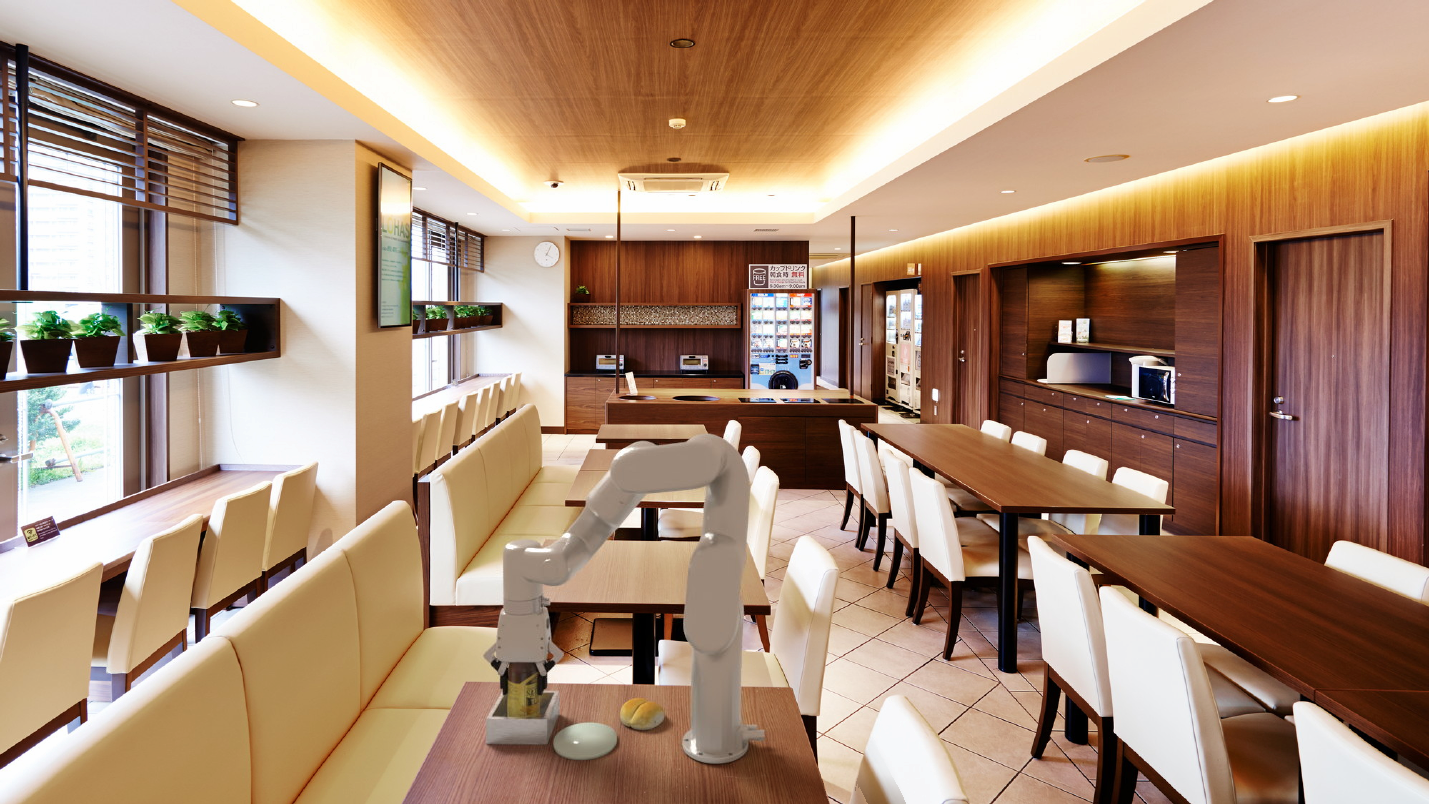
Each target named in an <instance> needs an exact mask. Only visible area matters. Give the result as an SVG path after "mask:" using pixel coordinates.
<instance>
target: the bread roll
mask: <svg viewBox="0 0 1429 804" xmlns="http://www.w3.org/2000/svg"><path fill="white" fill-rule="evenodd" d="M619 713H620V715H619V718H620V722H621V723H622V724H623V725H624V726H626V727H630V726H631V728H632V729H634V730H639V731H645V730H647V731H648V730H652V729H654V728H655V727H658V726H659V725H660V724H662V723H663V721H664V720H665V709H664V708H663V706H661V704H659V703H657V702H656V701H649V700H647V699H646V698H643V697H635V698H632V699H629V700H627V701H626V702H625V703H624V704H622V706H621V709H620V712H619Z"/></svg>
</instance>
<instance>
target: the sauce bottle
mask: <svg viewBox="0 0 1429 804" xmlns="http://www.w3.org/2000/svg"><path fill="white" fill-rule="evenodd" d="M538 675H539V669H538V667H537V665H536V663H527V662H514V663H511V662H510V663H509V665H508V716H507V717H541V716H540V695H538Z"/></svg>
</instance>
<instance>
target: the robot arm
mask: <svg viewBox="0 0 1429 804" xmlns="http://www.w3.org/2000/svg"><path fill="white" fill-rule="evenodd" d="M749 475H750V474H749V472H748V468H747V465H746V461H744V458H743V457H742V455H741V454H740V452H739V451H738V450H737V449H736V447H735V446H734V445H732V444H731V442H729V441H727V440H726V439H724V438H722V436H721V437H720V436H718V435H716V434H713V433H701V434H697V435H694V436H692V437H691V438H689V439H688V440H687V441H684V442H677V443H669V444H661V445H660V444H659V445H658V444H655V443H653V442H650V441H647V440H640V441H636V442H633V443H631V444H630V445H628V446H626V447H624V448H622V449H621V450H619V451H618V452H617V453H616V454H615V455H614V456H613V458H612V461H611V463H610V468H609V470H607V472H606V473H605V474H604V475H603V477H602V478H601V479H600V480H599V481H598V482H597V484H596V485H594V487H593V489H591V490H590V491H589V493H588V494H587V496H586V498H585V507H584V508H583V509H582V511H581V513H580V515H579V516H577V518H576V519H575V520H574V522H573V523H572V524H571V525H570V527H568V528H567V530H566V531H565V532H564V533H563V535H562V536H561V537H560V538H558V539H557V540H555V541H554V542H553V543H551V544H550V545H547V546H545V547H543V546H542V545H541V543H540V542H539V541H537V540H533V539H526V538H525V539H516V540H512V541H509V542H508V543H507V544H505V546H504V547H503V551H502V579H503V580H502V588H503V590H502V591H503V592H502V595H503V596H502V597H503V598H502V599H503V602H502V603H503V605H502V607H503V608H501V610H500V613H499V617H498V622H497V629H496V630H497V631H496V641H495V642H494V644H492V645H491V646H490V647H489V648H488V649H487V650H486V651H484V654H483V658H484V660H486V661H487V663H489V664H490V666H491V667H492V668H493V669H494V670H495V671H496V672H497V675H498V676H499V689H500V690H502V691H503V695H507V693H508V667H509V663H510V662H511V663H514V662H527V663H536V665H537V667H538V669H539V675H538V695H541V696H542V694H543V692H544V691H545V690H547V689H548V673H549V672H550V671H551V670H552V669H553V668H554V667H555V666H556V664H558V663H559V662H560V661H561V660H562V659H563V658H564V655H565V654H564V652H563V650H561V649H560V648H559V647H558V646H557V645H556V644H555V643H554V642H553V641H552V632H551V623H550V622H551V621H550V616H549V611H548V608H547V607H546V606H551V598H550V597H545V595H544V586H549V587H560V586H563V585H565V584H566V583H568V582H569V581H570V580H571V579H573V578H574V577H575V575H576V574H577V573H578V572H580V571H581V570H582V569H583V568H584V567H586V565H587V564H588V563H589V562H590V561H591V559H592V558H593V557H594V556H595V554H596V553H597V552H598V551H599V550H600V548H601V547H602V546H603V545H604V544H605V543H606V541H608V539H609V538H610V537H611V536H612V534H613V533H614V532H615V531H617V529H619V528H620V527H621V525H622V524H623V523H624V522H625V521H626V519H627V518H628V517H629V516H630V515H631V513H632V512H633V511H634V510H635V508H636V507H637V506H638V505H639V504H640V503H641V502H642V500H643V499H644V498H645V497H646V496H647V495H648V494H660V493H669V492H672V493H673V492H680V491H681V492H682V491H692V490H698V489H702V488H705V494H704V495H705V497H704V501H703V503H704V504H703V515H702V516H703V517H702V527H701V532H700V538H699V541H698V543H697V546H696V547H695V549H694V551H693V552H692V554H691V557H690V560H689V564H688V570H687V577H686V590H685V600H684V611H683V632H684V635H685V638H686V640H687V643H689V645H690V646H691V670H690V672H691V675H690V676H691V677H690V678H691V679H690V680H691V681H690V682H691V683H690V729H689V730H688V731H687V732H685V733H684V735H683V737H682V742H681V743H682V745H681V746H682V750H683V751H684V753H685V754H686V755H688V756H689V757H690V758H692V759H694V760H695V761H698V762H701V763H705V764H706V763H707V764H718V765H719V764H726V763H727V764H728V763H731V762H734V761H736V760H738V759H740V758H741V757H743V756H745V754H746V753H747V751H748V750H749V741H755V742H764V741H765V738H766V735H765V729H758V724H745V723H743V719H742V717H743V716H742V713H741V712H742V711H741V710H742V707H741V705H742V704H741V703H742V664H743V662H742V660H743V658H742V657H743V636H744V635H743V634H744V619H745V611H744V610H745V609H744V606H745V605H744V601H743V599H742V596H741V586H742V578H743V572H744V570H745V566H746V563H747V559H748V558H747V547H748V546H747V542H748V541H747V540H748V529H749V514H750V513H749V512H750V501H751V499H750V498H751V485H750V484H751V483H750V476H749ZM548 654H552V656H553V657H552V658H550V659H549V660H548Z"/></svg>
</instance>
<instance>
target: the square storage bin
mask: <svg viewBox="0 0 1429 804" xmlns="http://www.w3.org/2000/svg"><path fill="white" fill-rule="evenodd" d="M559 716H560V690H544V692H543V694H542V696H541V695H540V717H508V693H507V695H503V690H502V691H501V693H500V694H499V696H498V698H497V699H496V701H495V702H494V705H493V706H492V708H491V710H490V712H489V713H488V715H487V716H486V718H485V734H486V735H485V737H486V738H485V741H486V745H548V743H549V742H550V741H549V740H550V738H551V735H552V733H553V731H554V728H555V726H556V722H557V720H558V718H559Z"/></svg>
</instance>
